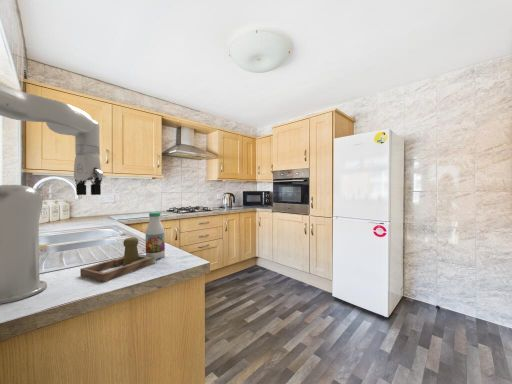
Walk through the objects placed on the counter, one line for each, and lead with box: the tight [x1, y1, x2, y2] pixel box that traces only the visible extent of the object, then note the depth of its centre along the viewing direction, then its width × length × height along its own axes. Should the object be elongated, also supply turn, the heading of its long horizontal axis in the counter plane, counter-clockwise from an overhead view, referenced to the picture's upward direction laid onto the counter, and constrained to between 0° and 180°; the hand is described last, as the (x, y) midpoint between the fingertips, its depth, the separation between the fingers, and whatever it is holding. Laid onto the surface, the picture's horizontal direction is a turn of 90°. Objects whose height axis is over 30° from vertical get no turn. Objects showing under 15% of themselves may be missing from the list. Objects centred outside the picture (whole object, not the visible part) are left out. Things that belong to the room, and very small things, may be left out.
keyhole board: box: [79, 253, 156, 283], centre depth 81 cm, size 20×13×2 cm, turn 155°
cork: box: [122, 236, 139, 266], centre depth 85 cm, size 6×6×11 cm
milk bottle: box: [145, 211, 166, 260], centre depth 95 cm, size 8×8×20 cm
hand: (88, 194), depth 84 cm, fingers open, 9 cm apart
